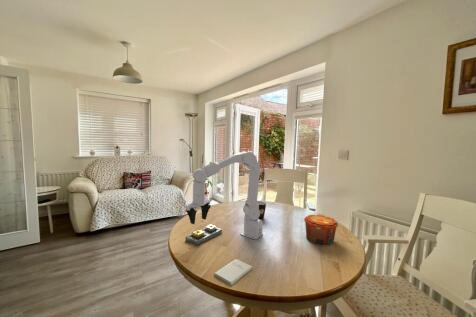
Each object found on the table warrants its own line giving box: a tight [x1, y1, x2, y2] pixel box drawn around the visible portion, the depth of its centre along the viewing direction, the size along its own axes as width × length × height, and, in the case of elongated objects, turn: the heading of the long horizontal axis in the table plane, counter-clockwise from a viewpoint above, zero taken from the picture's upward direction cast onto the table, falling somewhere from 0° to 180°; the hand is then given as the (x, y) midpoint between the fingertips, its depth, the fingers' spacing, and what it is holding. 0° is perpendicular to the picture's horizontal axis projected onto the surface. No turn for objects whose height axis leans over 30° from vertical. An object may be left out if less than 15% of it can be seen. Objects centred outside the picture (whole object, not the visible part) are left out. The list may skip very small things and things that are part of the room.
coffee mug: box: [257, 200, 267, 221], centre depth 134 cm, size 12×9×10 cm
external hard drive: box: [213, 258, 253, 286], centre depth 77 cm, size 2×8×12 cm
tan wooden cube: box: [191, 229, 204, 240], centre depth 101 cm, size 4×4×4 cm
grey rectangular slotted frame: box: [185, 226, 223, 246], centre depth 105 cm, size 8×18×2 cm, turn 145°
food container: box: [303, 214, 339, 246], centre depth 105 cm, size 16×16×11 cm
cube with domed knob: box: [204, 224, 217, 233], centre depth 108 cm, size 4×4×4 cm
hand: (198, 221), depth 100 cm, fingers open, 7 cm apart
